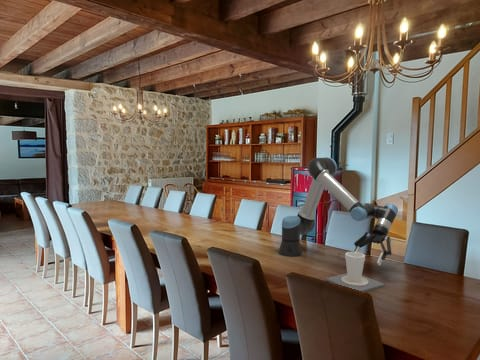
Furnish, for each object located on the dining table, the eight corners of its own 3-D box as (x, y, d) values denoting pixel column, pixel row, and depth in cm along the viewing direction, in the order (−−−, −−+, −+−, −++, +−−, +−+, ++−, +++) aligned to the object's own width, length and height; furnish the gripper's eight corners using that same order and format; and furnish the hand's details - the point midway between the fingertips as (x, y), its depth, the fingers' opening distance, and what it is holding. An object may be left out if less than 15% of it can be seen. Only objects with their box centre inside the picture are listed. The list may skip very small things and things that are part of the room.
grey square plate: (325, 280, 178) (325, 277, 178) (352, 273, 188) (352, 270, 188) (356, 294, 161) (356, 290, 161) (384, 286, 171) (384, 282, 171)
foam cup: (351, 283, 169) (352, 257, 168) (340, 277, 178) (341, 252, 177) (368, 282, 172) (369, 256, 170) (357, 275, 180) (358, 251, 179)
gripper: (406, 236, 182) (391, 271, 173) (363, 228, 201) (347, 258, 192) (402, 228, 178) (387, 262, 169) (358, 220, 197) (342, 251, 188)
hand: (366, 260), depth 181 cm, fingers open, 13 cm apart
